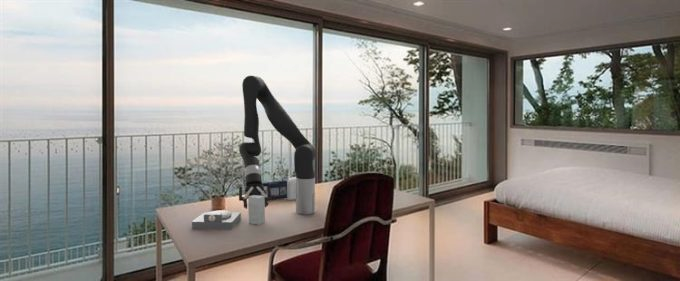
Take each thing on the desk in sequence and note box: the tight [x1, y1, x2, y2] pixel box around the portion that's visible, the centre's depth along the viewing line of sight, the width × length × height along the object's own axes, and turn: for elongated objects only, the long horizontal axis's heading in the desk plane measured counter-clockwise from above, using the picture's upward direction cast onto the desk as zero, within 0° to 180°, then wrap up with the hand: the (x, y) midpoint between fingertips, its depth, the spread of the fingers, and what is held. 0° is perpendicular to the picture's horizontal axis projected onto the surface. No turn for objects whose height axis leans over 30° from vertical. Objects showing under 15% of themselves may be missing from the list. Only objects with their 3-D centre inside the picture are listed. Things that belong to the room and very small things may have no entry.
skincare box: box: [247, 195, 266, 225], centre depth 170 cm, size 6×4×12 cm
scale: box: [191, 209, 242, 230], centre depth 168 cm, size 17×14×6 cm
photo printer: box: [286, 176, 296, 201], centre depth 212 cm, size 10×4×12 cm, turn 123°
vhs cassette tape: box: [262, 179, 288, 202], centre depth 209 cm, size 18×3×10 cm, turn 120°
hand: (256, 207), depth 170 cm, fingers open, 8 cm apart
